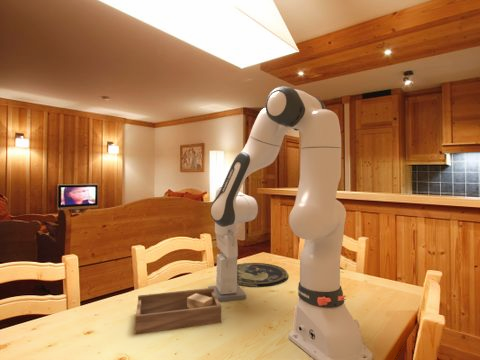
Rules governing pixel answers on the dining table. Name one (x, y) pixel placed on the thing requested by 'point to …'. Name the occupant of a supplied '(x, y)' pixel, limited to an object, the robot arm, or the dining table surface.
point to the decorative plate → (260, 275)
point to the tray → (174, 311)
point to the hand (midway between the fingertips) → (226, 264)
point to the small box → (226, 275)
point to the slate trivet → (229, 297)
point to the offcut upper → (198, 301)
